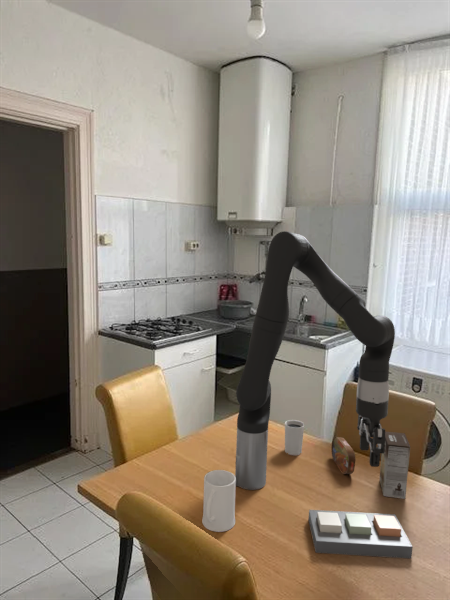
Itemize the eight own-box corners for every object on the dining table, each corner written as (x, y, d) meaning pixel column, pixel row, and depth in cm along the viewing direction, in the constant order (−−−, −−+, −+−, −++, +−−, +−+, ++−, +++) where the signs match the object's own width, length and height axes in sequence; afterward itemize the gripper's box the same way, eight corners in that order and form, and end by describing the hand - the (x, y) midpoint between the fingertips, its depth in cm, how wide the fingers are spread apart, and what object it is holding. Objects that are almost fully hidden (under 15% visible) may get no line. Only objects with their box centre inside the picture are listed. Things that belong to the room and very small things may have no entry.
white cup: (304, 456, 148) (305, 428, 146) (284, 455, 148) (286, 427, 147) (301, 447, 154) (302, 420, 153) (282, 446, 154) (283, 419, 153)
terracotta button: (378, 540, 104) (379, 527, 104) (372, 526, 109) (373, 514, 109) (400, 541, 104) (401, 529, 104) (393, 527, 109) (394, 516, 108)
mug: (219, 544, 104) (220, 497, 102) (189, 532, 107) (189, 487, 106) (240, 517, 114) (242, 474, 112) (212, 507, 118) (213, 466, 116)
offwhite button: (320, 536, 105) (320, 524, 104) (316, 523, 110) (317, 511, 109) (341, 537, 105) (341, 525, 104) (336, 524, 110) (337, 512, 109)
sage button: (349, 538, 104) (350, 526, 104) (344, 525, 109) (345, 513, 109) (370, 539, 104) (371, 527, 104) (364, 526, 109) (365, 514, 109)
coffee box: (378, 479, 134) (382, 430, 132) (400, 482, 133) (404, 432, 131) (383, 496, 125) (387, 443, 123) (406, 499, 124) (411, 446, 122)
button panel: (315, 552, 102) (316, 540, 101) (308, 520, 114) (309, 509, 113) (411, 558, 101) (412, 546, 100) (394, 525, 112) (395, 514, 112)
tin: (330, 455, 149) (331, 432, 148) (339, 455, 149) (340, 432, 148) (346, 479, 134) (347, 453, 133) (355, 479, 134) (357, 453, 133)
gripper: (349, 386, 115) (347, 444, 117) (365, 406, 101) (362, 471, 103) (378, 387, 115) (375, 445, 117) (398, 406, 101) (394, 472, 103)
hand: (369, 457), depth 110 cm, fingers open, 8 cm apart
